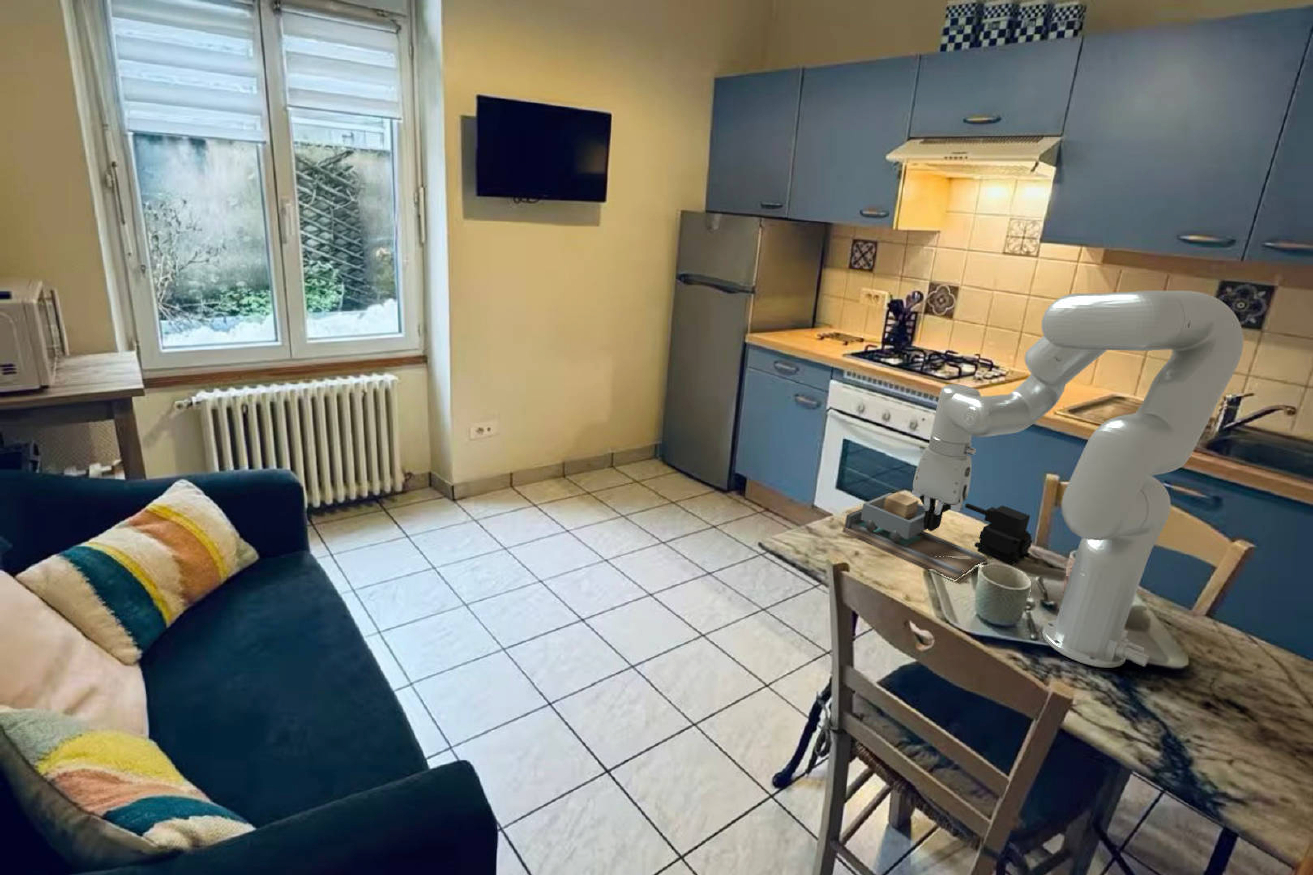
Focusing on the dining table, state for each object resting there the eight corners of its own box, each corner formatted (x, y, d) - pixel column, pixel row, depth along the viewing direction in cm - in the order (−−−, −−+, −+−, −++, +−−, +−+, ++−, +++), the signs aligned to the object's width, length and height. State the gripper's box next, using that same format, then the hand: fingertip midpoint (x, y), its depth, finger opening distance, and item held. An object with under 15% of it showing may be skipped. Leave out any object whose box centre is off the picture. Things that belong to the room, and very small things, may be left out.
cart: (931, 533, 156) (936, 510, 154) (905, 546, 149) (910, 522, 147) (886, 514, 164) (890, 492, 162) (858, 526, 157) (863, 503, 155)
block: (914, 521, 155) (918, 500, 154) (902, 526, 152) (906, 505, 151) (893, 512, 159) (897, 492, 157) (881, 518, 156) (885, 497, 154)
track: (986, 562, 150) (990, 545, 148) (954, 582, 141) (959, 564, 139) (876, 516, 167) (879, 501, 166) (842, 531, 158) (845, 515, 157)
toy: (966, 533, 163) (976, 493, 160) (1029, 559, 153) (1041, 516, 150) (950, 541, 158) (959, 500, 155) (1014, 568, 148) (1026, 525, 145)
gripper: (993, 454, 141) (973, 537, 147) (923, 432, 152) (907, 511, 158) (976, 461, 137) (956, 547, 143) (905, 438, 147) (889, 519, 153)
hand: (930, 528), depth 150 cm, fingers closed
